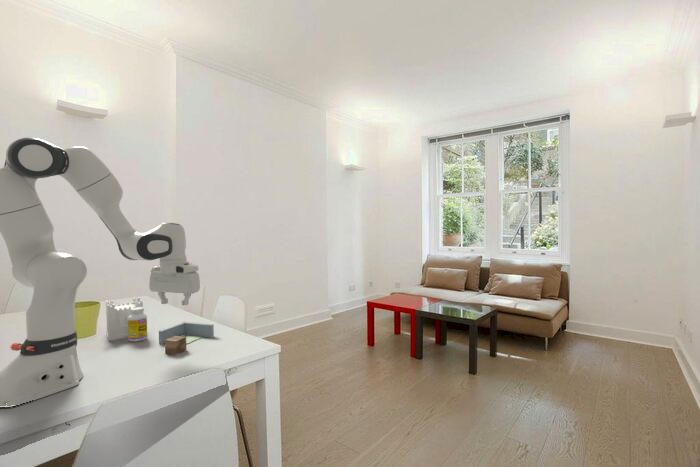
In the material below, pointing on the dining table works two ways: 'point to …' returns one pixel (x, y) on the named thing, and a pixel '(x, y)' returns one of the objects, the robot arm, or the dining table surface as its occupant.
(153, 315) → the dining table surface
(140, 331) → the supplement bottle
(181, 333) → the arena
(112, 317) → the castle model
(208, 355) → the dining table surface
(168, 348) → the walnut cube
